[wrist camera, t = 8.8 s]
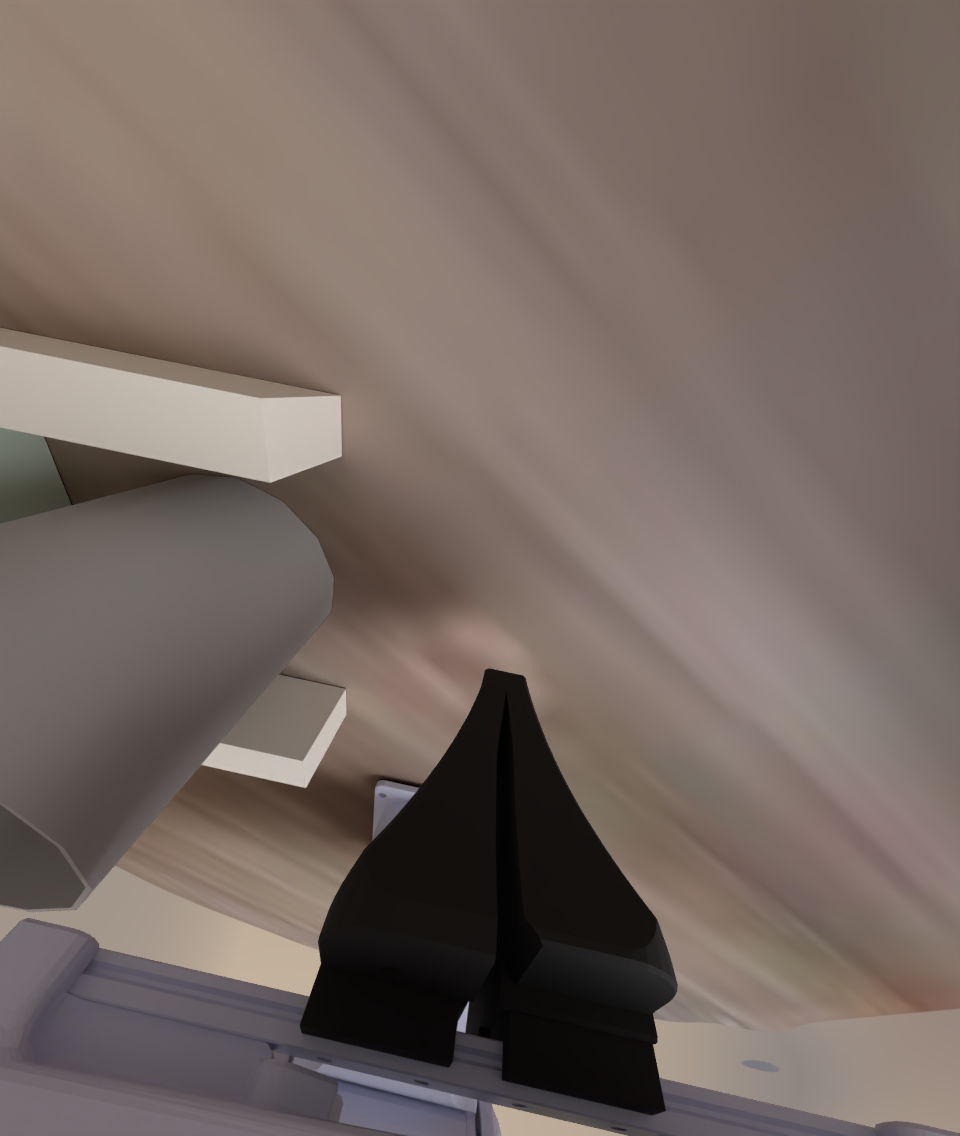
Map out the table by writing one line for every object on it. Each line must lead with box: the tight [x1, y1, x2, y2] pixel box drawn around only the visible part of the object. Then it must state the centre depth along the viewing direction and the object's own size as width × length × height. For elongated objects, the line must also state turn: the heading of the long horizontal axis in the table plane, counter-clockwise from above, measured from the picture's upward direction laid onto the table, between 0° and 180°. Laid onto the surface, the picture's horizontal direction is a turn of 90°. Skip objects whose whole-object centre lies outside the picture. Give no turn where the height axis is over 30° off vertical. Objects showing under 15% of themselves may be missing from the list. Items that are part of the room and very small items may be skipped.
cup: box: [0, 474, 334, 912], centre depth 11 cm, size 8×8×10 cm
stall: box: [0, 328, 346, 788], centre depth 14 cm, size 16×14×4 cm
